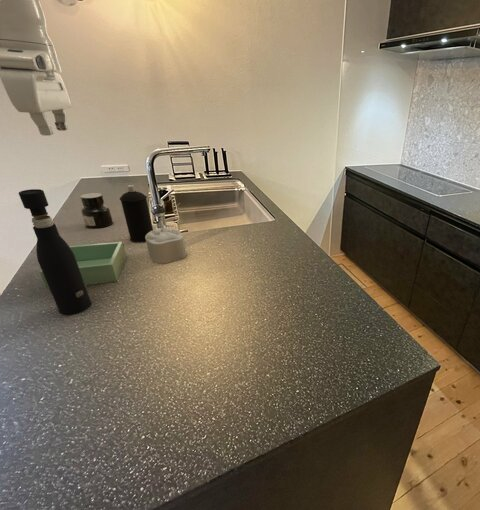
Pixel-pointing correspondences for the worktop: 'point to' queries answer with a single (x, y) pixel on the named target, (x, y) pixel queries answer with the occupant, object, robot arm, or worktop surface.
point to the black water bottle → (56, 257)
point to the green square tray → (98, 262)
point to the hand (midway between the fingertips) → (55, 132)
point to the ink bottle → (95, 211)
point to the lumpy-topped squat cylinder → (165, 245)
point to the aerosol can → (136, 214)
